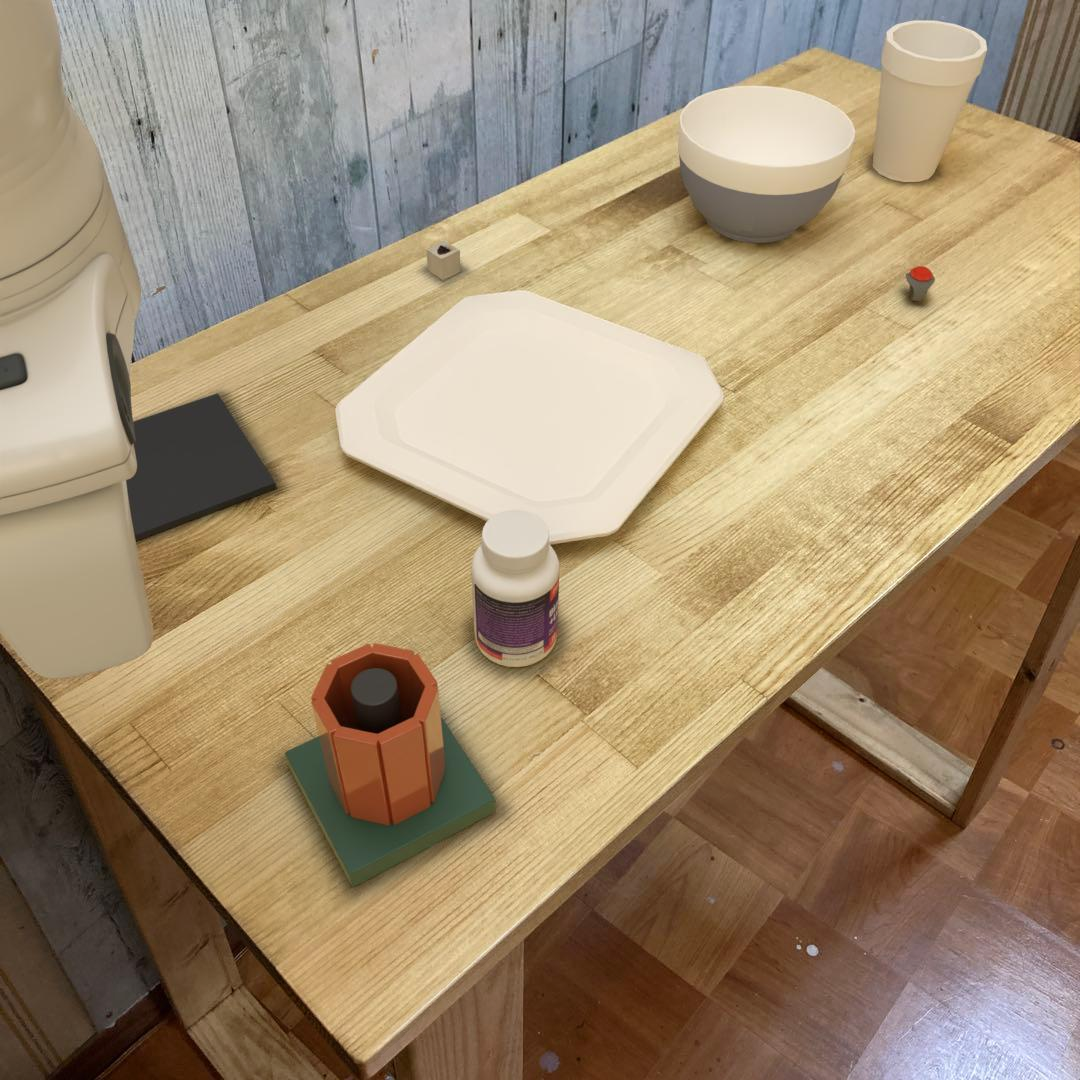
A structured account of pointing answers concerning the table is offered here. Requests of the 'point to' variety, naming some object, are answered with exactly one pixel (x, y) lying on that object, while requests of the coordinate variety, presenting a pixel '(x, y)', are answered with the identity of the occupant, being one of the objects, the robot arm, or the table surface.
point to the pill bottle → (515, 590)
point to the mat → (191, 466)
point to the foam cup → (922, 94)
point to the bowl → (762, 159)
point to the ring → (919, 282)
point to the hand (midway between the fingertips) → (103, 530)
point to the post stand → (384, 846)
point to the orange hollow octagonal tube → (381, 738)
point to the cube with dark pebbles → (443, 260)
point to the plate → (531, 413)
